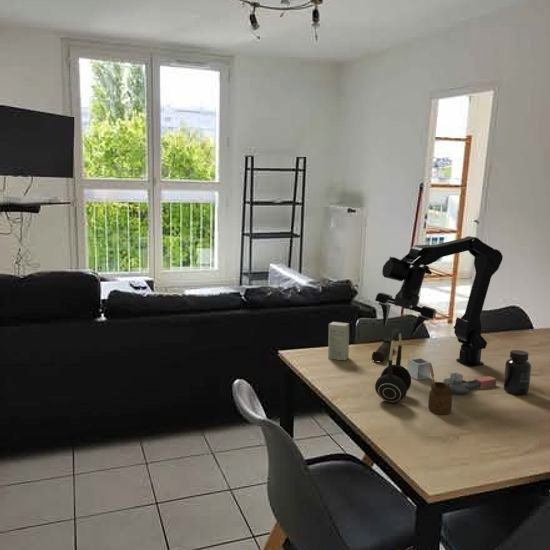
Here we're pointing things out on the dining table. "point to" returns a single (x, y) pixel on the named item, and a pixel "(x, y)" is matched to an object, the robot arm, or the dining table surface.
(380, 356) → the hand tool
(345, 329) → the skincare box
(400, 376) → the headphones
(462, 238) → the robot arm
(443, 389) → the utensil holder
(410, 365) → the square hollow container
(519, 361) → the supplement bottle
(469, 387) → the ratchet
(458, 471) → the dining table surface
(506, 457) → the dining table surface
